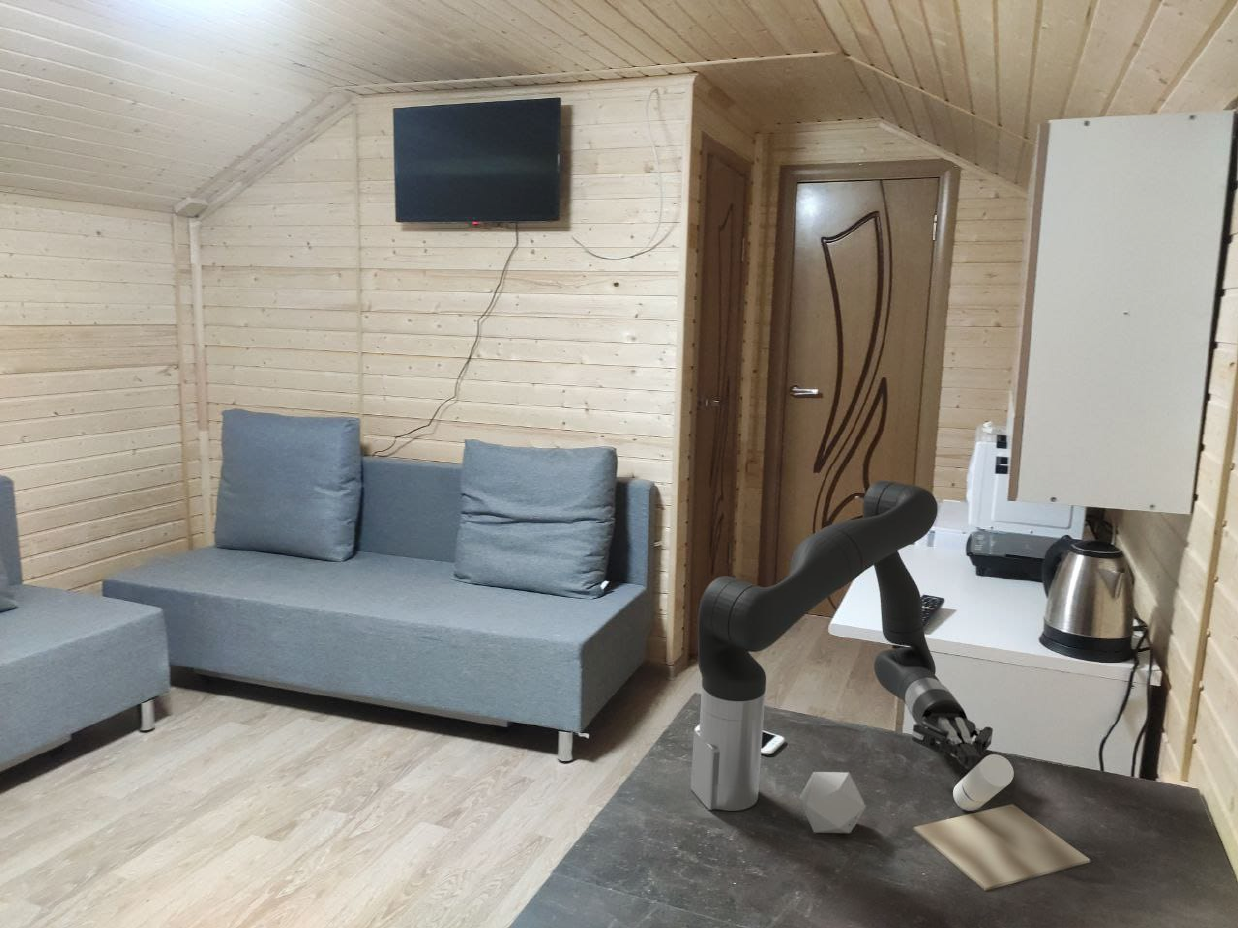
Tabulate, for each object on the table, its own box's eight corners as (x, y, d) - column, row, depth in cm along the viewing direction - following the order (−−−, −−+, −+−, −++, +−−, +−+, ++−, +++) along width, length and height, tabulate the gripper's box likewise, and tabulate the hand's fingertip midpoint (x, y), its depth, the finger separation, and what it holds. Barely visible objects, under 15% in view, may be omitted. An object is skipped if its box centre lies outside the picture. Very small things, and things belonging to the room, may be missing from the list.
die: (848, 857, 126) (884, 795, 128) (794, 821, 127) (830, 759, 128) (832, 842, 134) (866, 784, 136) (782, 808, 135) (816, 750, 136)
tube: (984, 786, 139) (1015, 759, 126) (981, 814, 137) (1011, 790, 124) (955, 777, 140) (982, 750, 127) (951, 805, 138) (978, 780, 125)
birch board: (985, 890, 119) (985, 887, 119) (913, 829, 132) (913, 826, 132) (1089, 861, 126) (1090, 859, 126) (1012, 806, 139) (1012, 803, 138)
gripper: (896, 686, 153) (930, 738, 136) (976, 689, 153) (1021, 741, 136) (892, 728, 154) (925, 785, 137) (971, 731, 154) (1014, 788, 138)
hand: (973, 763), depth 137 cm, fingers closed
